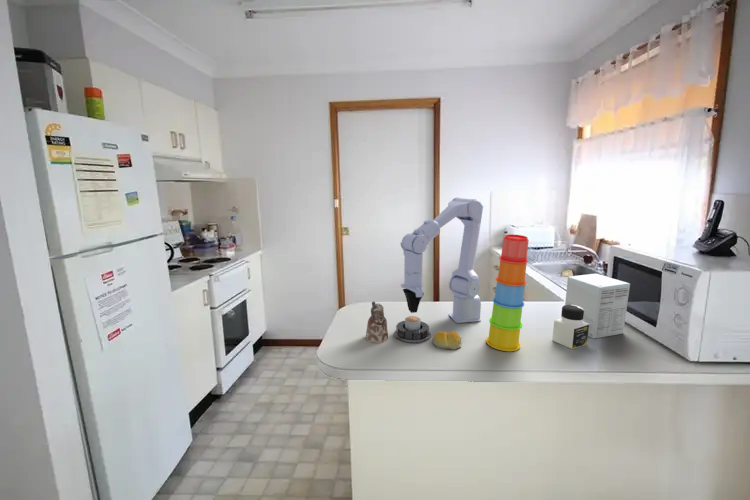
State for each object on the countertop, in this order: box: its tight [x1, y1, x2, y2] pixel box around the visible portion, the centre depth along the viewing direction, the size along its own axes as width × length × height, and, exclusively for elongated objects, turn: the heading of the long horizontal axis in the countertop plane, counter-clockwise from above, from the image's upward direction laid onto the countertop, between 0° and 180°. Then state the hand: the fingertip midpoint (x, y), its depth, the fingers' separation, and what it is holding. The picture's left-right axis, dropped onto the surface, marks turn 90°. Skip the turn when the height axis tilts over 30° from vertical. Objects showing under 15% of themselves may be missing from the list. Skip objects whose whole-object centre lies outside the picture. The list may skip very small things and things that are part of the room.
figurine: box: [365, 301, 389, 344], centre depth 120 cm, size 7×7×12 cm
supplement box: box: [564, 273, 631, 339], centre depth 125 cm, size 13×13×18 cm
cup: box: [404, 315, 421, 331], centre depth 122 cm, size 5×5×5 cm
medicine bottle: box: [552, 304, 589, 350], centre depth 116 cm, size 7×7×12 cm
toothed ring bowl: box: [393, 320, 431, 344], centre depth 123 cm, size 12×12×3 cm
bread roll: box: [432, 330, 462, 350], centre depth 116 cm, size 8×9×4 cm
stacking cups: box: [485, 233, 529, 352], centre depth 113 cm, size 10×10×35 cm
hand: (412, 311), depth 121 cm, fingers closed
